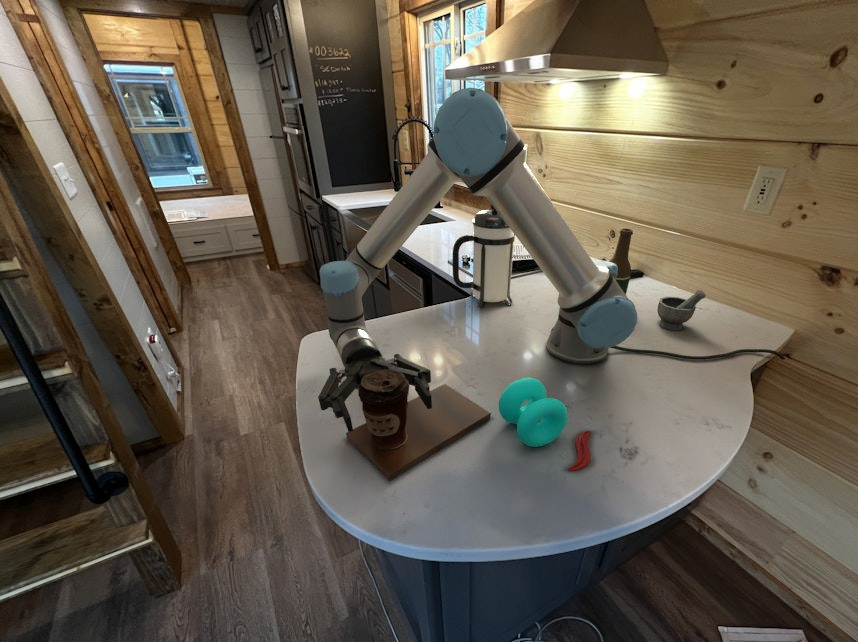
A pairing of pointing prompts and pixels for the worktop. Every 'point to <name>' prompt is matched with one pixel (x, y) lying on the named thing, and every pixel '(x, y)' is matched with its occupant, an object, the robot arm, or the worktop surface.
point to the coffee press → (488, 258)
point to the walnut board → (423, 431)
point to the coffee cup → (385, 407)
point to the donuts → (533, 412)
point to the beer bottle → (623, 259)
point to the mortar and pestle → (677, 310)
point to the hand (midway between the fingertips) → (391, 413)
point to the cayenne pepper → (582, 451)
